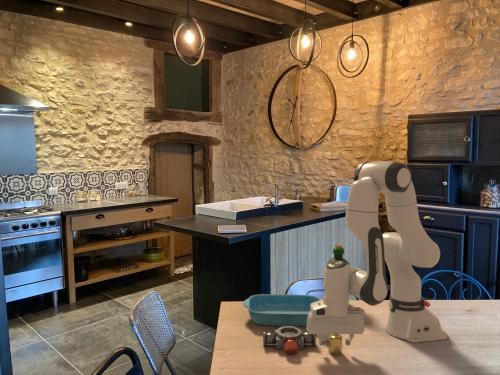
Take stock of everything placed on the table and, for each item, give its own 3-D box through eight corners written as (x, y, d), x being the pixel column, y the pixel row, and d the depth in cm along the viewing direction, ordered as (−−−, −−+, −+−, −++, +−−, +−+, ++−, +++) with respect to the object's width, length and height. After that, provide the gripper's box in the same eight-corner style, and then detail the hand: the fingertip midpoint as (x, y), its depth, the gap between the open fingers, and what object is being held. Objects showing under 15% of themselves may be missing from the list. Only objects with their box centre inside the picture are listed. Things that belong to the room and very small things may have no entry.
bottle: (352, 301, 190) (353, 244, 188) (344, 309, 182) (345, 249, 179) (331, 297, 196) (331, 241, 194) (322, 304, 187) (323, 246, 185)
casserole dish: (324, 308, 183) (324, 293, 183) (333, 330, 161) (333, 313, 161) (244, 308, 185) (244, 293, 184) (242, 329, 162) (241, 312, 162)
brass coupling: (340, 349, 145) (340, 333, 145) (343, 355, 141) (343, 339, 140) (327, 349, 145) (327, 333, 145) (330, 356, 141) (330, 339, 140)
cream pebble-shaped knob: (332, 334, 157) (332, 322, 157) (336, 342, 151) (336, 329, 151) (317, 334, 157) (317, 322, 157) (320, 342, 151) (320, 329, 151)
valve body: (312, 338, 153) (312, 325, 153) (318, 355, 141) (318, 340, 141) (262, 339, 153) (262, 326, 153) (264, 355, 141) (264, 341, 141)
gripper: (362, 303, 145) (361, 340, 146) (306, 303, 144) (305, 340, 146) (367, 310, 138) (366, 349, 139) (308, 310, 138) (308, 349, 139)
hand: (334, 344), depth 143 cm, fingers open, 8 cm apart
